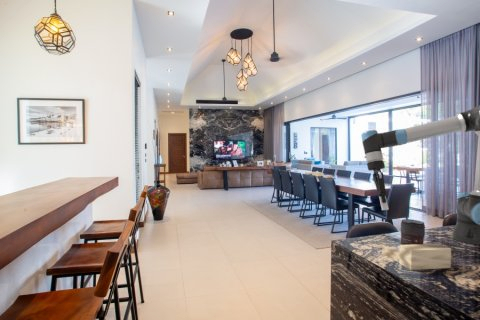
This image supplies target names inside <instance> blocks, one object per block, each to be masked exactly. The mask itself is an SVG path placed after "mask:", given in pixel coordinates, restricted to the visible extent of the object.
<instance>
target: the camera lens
mask: <svg viewBox="0 0 480 320" xmlns="http://www.w3.org/2000/svg"><path fill="white" fill-rule="evenodd" d="M425 231H426V225H425V222H424V221H421V220H417V219H410V218H403V219H401V222H400V244H399V246H400V245H413V244H425V243H424V242H425V241H424V239H425V234H426V233H425Z"/></svg>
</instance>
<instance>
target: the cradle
mask: <svg viewBox="0 0 480 320" xmlns="http://www.w3.org/2000/svg"><path fill="white" fill-rule="evenodd" d="M381 254H383V255H385V256H387V257H389V258H391V259H392V260H394V261H396V262H397V263H399V264H400V265H402V266H404V267H405V268H406V269H409V270H410V271H413V270H414V271H416V270H417V271H419V270H433V269H434V270H436V269H451V268H452V266H451V265H452V248H450V247H447V246H445V245H442V244H439V243H424V244H413V245H400V244H399V251H398V250H396V249H394V248H392V247H390V246H388V245H382V246H381Z"/></svg>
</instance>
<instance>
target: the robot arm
mask: <svg viewBox="0 0 480 320" xmlns="http://www.w3.org/2000/svg"><path fill="white" fill-rule="evenodd" d="M457 132H458V133H459V132H461V133H467V132H474V133H475V135H477V137H478V138H477V147H476V148H477V149H476V151H477V152H476V160H475V161H476V162H475V173H474V174H475V175H474V186H473V190H471V191H470V192H459V193H458V194H457V198H456V200H457V204H456V205H457V207H456V212H457V213H456V224H455V226H454V228H453V231H452V233H451V237H452V239H454V240H456V241H458V242H463V243H464V244H465V243H466V244H471V245H478V246H480V105H477V106H475V107H474V108H471V109H468V110H466V111H463V112H459V113H457V114H456V115H455V116H450V117H446V118H443V119H439V120H435V121H431V122H427V123H423V124H418V125H415V126H411V127H407V128H401V129H395V130H389V131H386V132H380V133H379V132H378V131H377V129H369V130H367V131H366V130H365V131H364V132H362V133H361V142H362V146H363V151H364V155H365V156H364V157H363V158H364V159H365V160H366V165H367V170H368V171H372V172H373V173H372V177H373V181H374V185H375V187H376V192H377V196H378V198H379V203H380V207H381V211H387V210H388V211H389V209H390V208H389V204H388V200H387V191H386V185H385V178H384V172H383V171H382V169H385V168H386V166H385V161H384V156H383V152H382V149H387V148H393V147H396V146H397V147H398V146H402V145H406V144H409V143H413V142H417V141H423V140H428V139H431V138H436V137H440V136H444V135H448V134H453V133H457Z"/></svg>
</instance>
